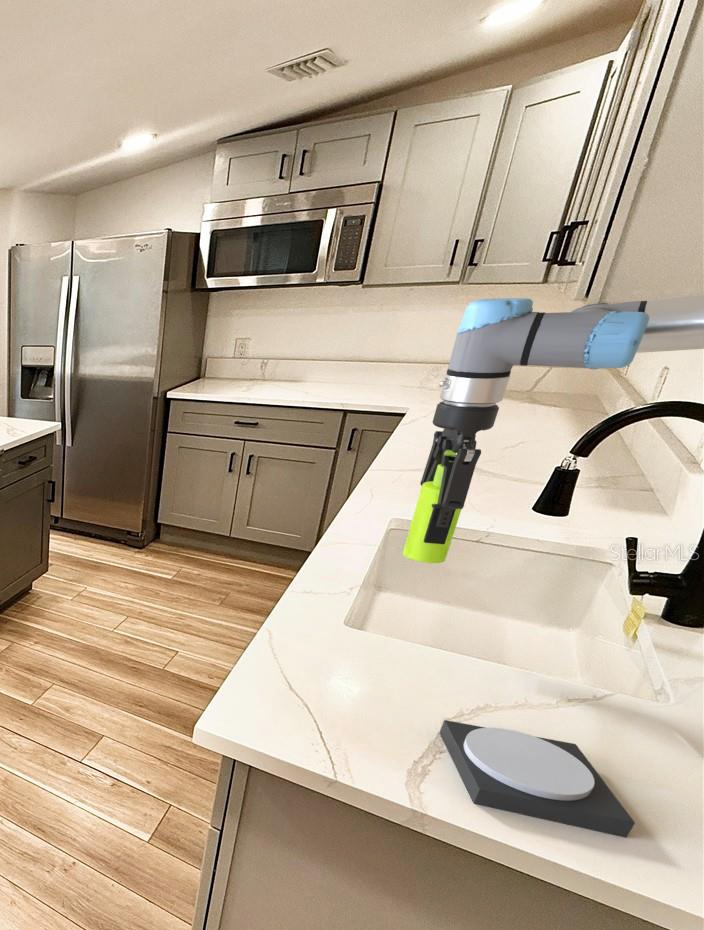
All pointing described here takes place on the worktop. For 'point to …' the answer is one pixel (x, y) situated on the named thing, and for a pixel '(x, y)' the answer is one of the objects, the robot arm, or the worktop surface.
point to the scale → (533, 777)
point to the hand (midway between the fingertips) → (428, 535)
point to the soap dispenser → (420, 521)
